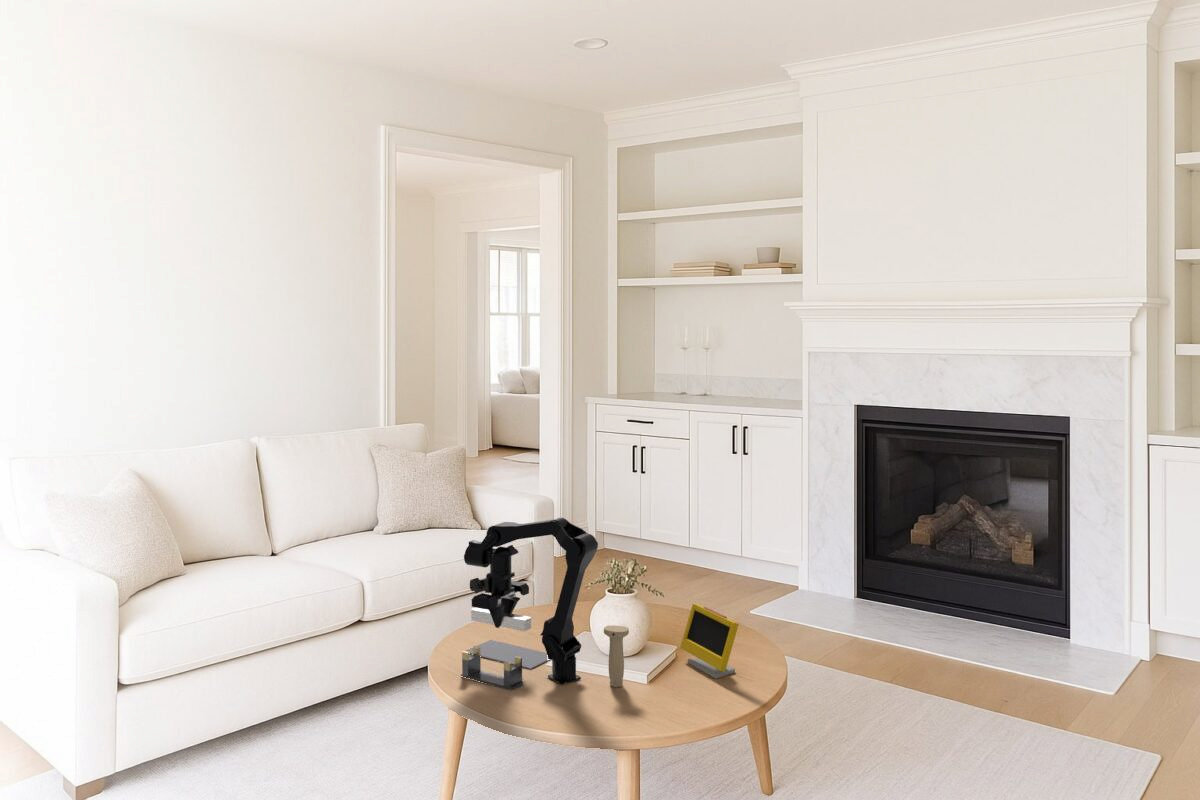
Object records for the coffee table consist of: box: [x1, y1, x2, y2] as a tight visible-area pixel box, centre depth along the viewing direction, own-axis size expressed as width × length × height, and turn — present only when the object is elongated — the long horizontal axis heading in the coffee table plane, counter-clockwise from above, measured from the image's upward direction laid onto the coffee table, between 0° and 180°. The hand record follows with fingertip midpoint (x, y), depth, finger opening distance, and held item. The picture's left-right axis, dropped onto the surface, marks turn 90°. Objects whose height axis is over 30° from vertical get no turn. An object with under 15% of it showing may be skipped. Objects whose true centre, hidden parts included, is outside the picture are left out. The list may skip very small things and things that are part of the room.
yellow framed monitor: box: [680, 602, 739, 680], centre depth 255 cm, size 20×8×16 cm, turn 27°
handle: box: [603, 624, 630, 688], centre depth 243 cm, size 5×6×15 cm
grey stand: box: [460, 646, 525, 692], centre depth 247 cm, size 17×5×7 cm, turn 57°
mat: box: [464, 639, 548, 671], centre depth 267 cm, size 24×12×1 cm, turn 57°
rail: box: [470, 607, 532, 632], centre depth 257 cm, size 18×3×3 cm, turn 59°
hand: (501, 625), depth 257 cm, fingers closed on rail, 3 cm apart
